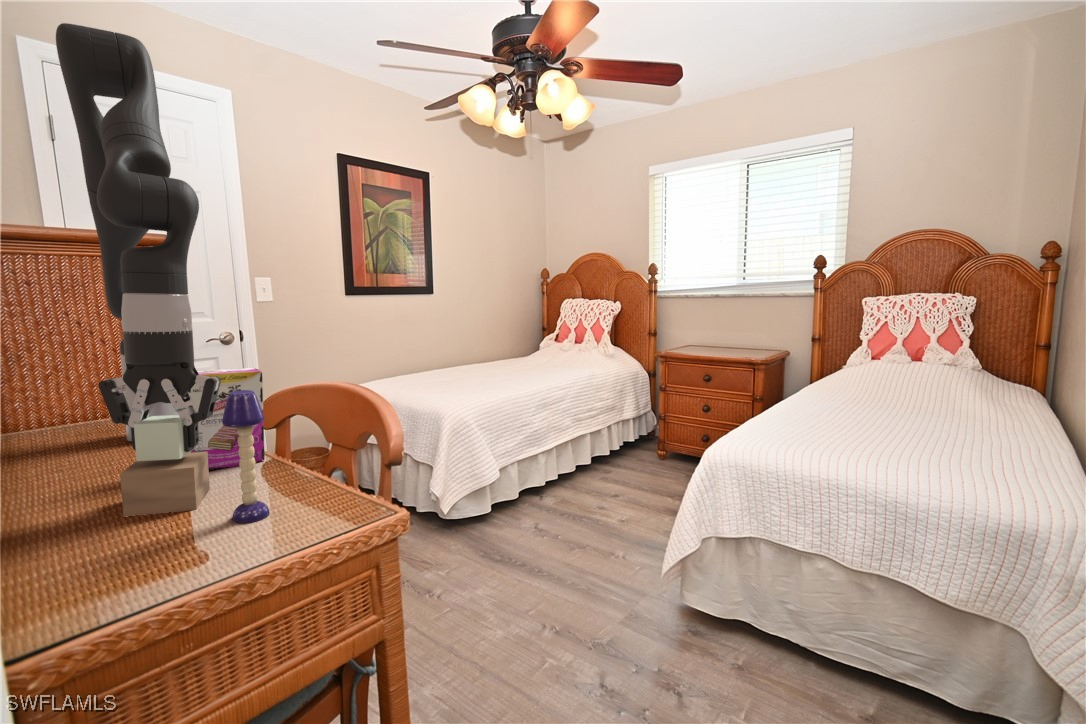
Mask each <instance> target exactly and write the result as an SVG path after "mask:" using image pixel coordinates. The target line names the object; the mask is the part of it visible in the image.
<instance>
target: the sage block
mask: <svg viewBox="0 0 1086 724" xmlns="http://www.w3.org/2000/svg"><path fill="white" fill-rule="evenodd" d="M183 426H184V424H183V423H182V420H181V419H180V416H179V415H169V416H151V417H149V418H147V419H144V420H142V421H140V422H138V423H135V424H134V433H135V447H136V450H135V459H136V460H135V462H136V461H151V460H170V459H181V458H182V457H184V456H185V455H186V454H188V453H189V452H185V451H184V440H183ZM194 449H195V448H194ZM194 449H193V450H194ZM190 452H191V451H190Z"/></svg>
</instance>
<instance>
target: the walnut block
mask: <svg viewBox="0 0 1086 724" xmlns="http://www.w3.org/2000/svg"><path fill="white" fill-rule="evenodd" d="M119 476H120V478H119V479H120V491H121V492H120V493H121V502H122V503H121V504H122V514H123V515H122V516H123V517H126V516H133V515H134V516H135V515H143V514H153V515H157V514H156V513H162V514H167V513H168V514H170V513H169V512H171V513H177V512H186V511H196V510H198V508H199V507H200V505H201V504H202V503H203V501H204V499H205V497H206V496H207V495H208V494H209V491H210V488H211V487H210V472H209V468H208V451H207V452H195V453H188V454H186V455H185V456H184V457H182V458H181V459H170V460H151V461H136V460H135V462H133V463H132V464H131V465H130V466H129V467H126V469H125V470H122V471H121V473H120V474H119ZM135 517H136V516H135Z"/></svg>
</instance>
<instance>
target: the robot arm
mask: <svg viewBox="0 0 1086 724" xmlns="http://www.w3.org/2000/svg"><path fill="white" fill-rule="evenodd" d="M55 45H56V47H55V48H56V51H57V53H56V54H57V58H58V62H59V65H60V70H61V73H62V77H63V82H64V84H65V88H66V92H67V96H68V99H69V103H70V108H71V111H72V116H73V119H74V123H75V127H76V130H77V131H76V132H77V136H78V140H79V142H78V143H79V145H80V146H79V147H80V152H81V159H82V160H81V161H82V166H83V171H84V172H83V173H84V179H85V185H86V190H87V195H88V200H89V205H90V206H89V207H90V209H91V213H92V217H93V222H94V227H95V230H96V234H97V238H98V244H99V248H100V257H101V264H102V274H103V281H104V282H103V284H104V292H105V298H106V303H107V306H108V310H109V312H110V313H111V315H112V316H113V317H114V318H116V319H118V320H120V321H121V322H120V324H121V328H122V340H121V341H120V343H119V351H120V363H121V365H120V366H121V367H120V368H121V376H120V377H112V378H106V379H104V380H100V381H99V382H98V384H97V386H98V389H99V391H100V393H101V396H102V399H103V401H104V404H105V407H106V408H107V411H108V414H109V416H110V419H111V421H112V423H114V424H116V425H118V424H119V425H120V424H122V425H125V432H126V440H127V441H128V442H131V448H132V449H133V451H136V447H135V433H134V424H135V423H138V422H140V421H142V420H144V419H147V418H149V417H151V416H169V415H179V416H180V419H181V420H182V423H183V424H184V426H183V440H184V451H185V452H190V451H192V450H193V449H194V448H195V446H196V445H198V443H199V431H198V423H199V421H202V420H205V419H207V418H209V417H210V416H212V415H213V412H214V408H215V404H216V399H217V395H218V391H219V387H220V383H221V379H220V377H218V376H214V377H208V376H203V375H199V373H198V372H197V371H198V370H197V369H196V367H195V352H194V351H195V350H194V349H195V348H194V336H193V335H194V333H193V314H192V308H191V307H192V306H191V304H190V299H189V288H188V286H189V284H188V257H189V256H188V255H189V251H190V250H189V249H190V245H191V241H192V240H191V239H192V236H193V233H194V230H195V226H196V223H197V220H198V216H199V212H200V203H199V202H200V201H199V198H198V196H197V193H196V192H195V190H194V188H193V187H192V186H191V185H190V184H189V183H187V182H186V181H185V180H182V179H178V178H174V177H170V176H171V172H172V167H171V166H172V165H171V162H170V158H169V155H168V152H167V149H166V146H165V142H164V139H163V136H162V131H161V125H160V123H161V122H160V109H159V100H158V95H157V93H158V92H157V87H156V85H157V83H156V79H155V72H154V68H153V63H152V60H151V57H150V53H149V51H148V50H147V48H146V46H145V44H143V42H142V41H141V40H140V39H138V38H136V37H134V36H131V35H129V34H124V33H120V32H116V31H115V32H114V31H111V30H106V29H99V28H96V27H90V26H85V25H79V24H76V23H75V24H73V23H67V22H64V23H63V22H62V23H60V24H59V25H58V26H57V27H56V31H55ZM95 96H96V97H106V98H113V99H119V100H120V99H121V100H120V101H118V102H116V104H114V105H113V106H112V107H111V108H110V109H109V110H108V111H107V112H106V113H105V115H103V113H102V112H101V111H100V109H99V107H98V105H97V103H96V101H95V99H94V98H95ZM149 231H160V232H166V235H165V236H166V237H165V239H164V240H163V242H162V243H160V244H156V245H153V246H152V245H150V246H140V247H136V246H137V245H139V242H140V241H141V240H143V238H144V237H145V235H147V233H148V232H149ZM196 382H197V383H198V385H199V390H200V391H202V397H201V401H200V405H199V409H198V412H197V411H196V409H195V407H194V401H193V399H192V397H191V395H190V392H189V391H190V390H191V388H192V387H193V386H194V384H195V383H196Z"/></svg>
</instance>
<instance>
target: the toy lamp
mask: <svg viewBox="0 0 1086 724" xmlns="http://www.w3.org/2000/svg"><path fill="white" fill-rule="evenodd" d="M264 420H265V415H264V411H263V412H262V409H261V406H260V404H259V401H258V398H257V396H256V394H255V392H254V391H252V390H239V391H234V392H230V393H229V394H228V397H227V401H226V405H225V410H224V414H223V419H222V424H223V425H224V426H226V427H237V433H238V435H239V437H238V445H239V446H240V448H239V457H240V458H241V459H240V463H239V465H238V466H239V469H240V474H239V478H240V480H241V484H240V487H241V488H240V489H241V492H242V494H241V501H242V503H241V504H239V505H237V507H236V508H235V509H234V511H233V513H232V518H231V519H232V521H233V522H234V523H238V524H247V523H248V524H249V523H254V522H258V521H261V520H263V519H265V518H267V517H268V516H269V515H270V510H269V509H270V508H269V507H268V505H267V504H266V503H265V502H263V501H260V500H258V497H259V496H258V492H257V487H258V484H257V483H258V482H257V481H256V477H257V472H256V469H255V467H256V462H255V459H254V457H253V456H254V453H255V451H254V447H253V446H252V445H253V443H254V438H253V435H252V432H253V426H252V425H256V424H260V423H261V422H263V421H264ZM264 422H265V421H264Z"/></svg>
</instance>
